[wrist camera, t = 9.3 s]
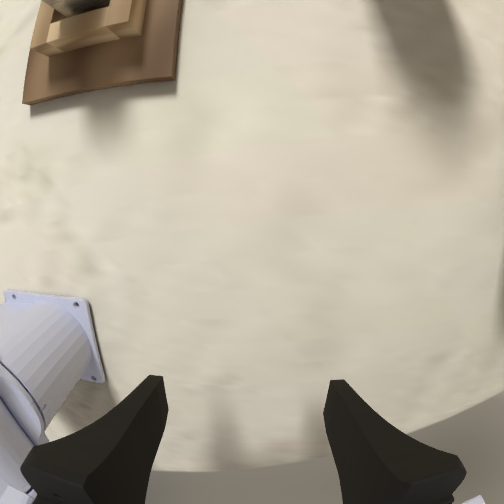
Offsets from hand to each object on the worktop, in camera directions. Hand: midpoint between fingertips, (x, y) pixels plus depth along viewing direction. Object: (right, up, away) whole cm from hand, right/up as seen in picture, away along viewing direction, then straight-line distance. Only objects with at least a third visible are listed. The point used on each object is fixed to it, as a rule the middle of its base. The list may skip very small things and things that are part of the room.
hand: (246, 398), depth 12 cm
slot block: (-10, +25, +3) cm, 27 cm away
